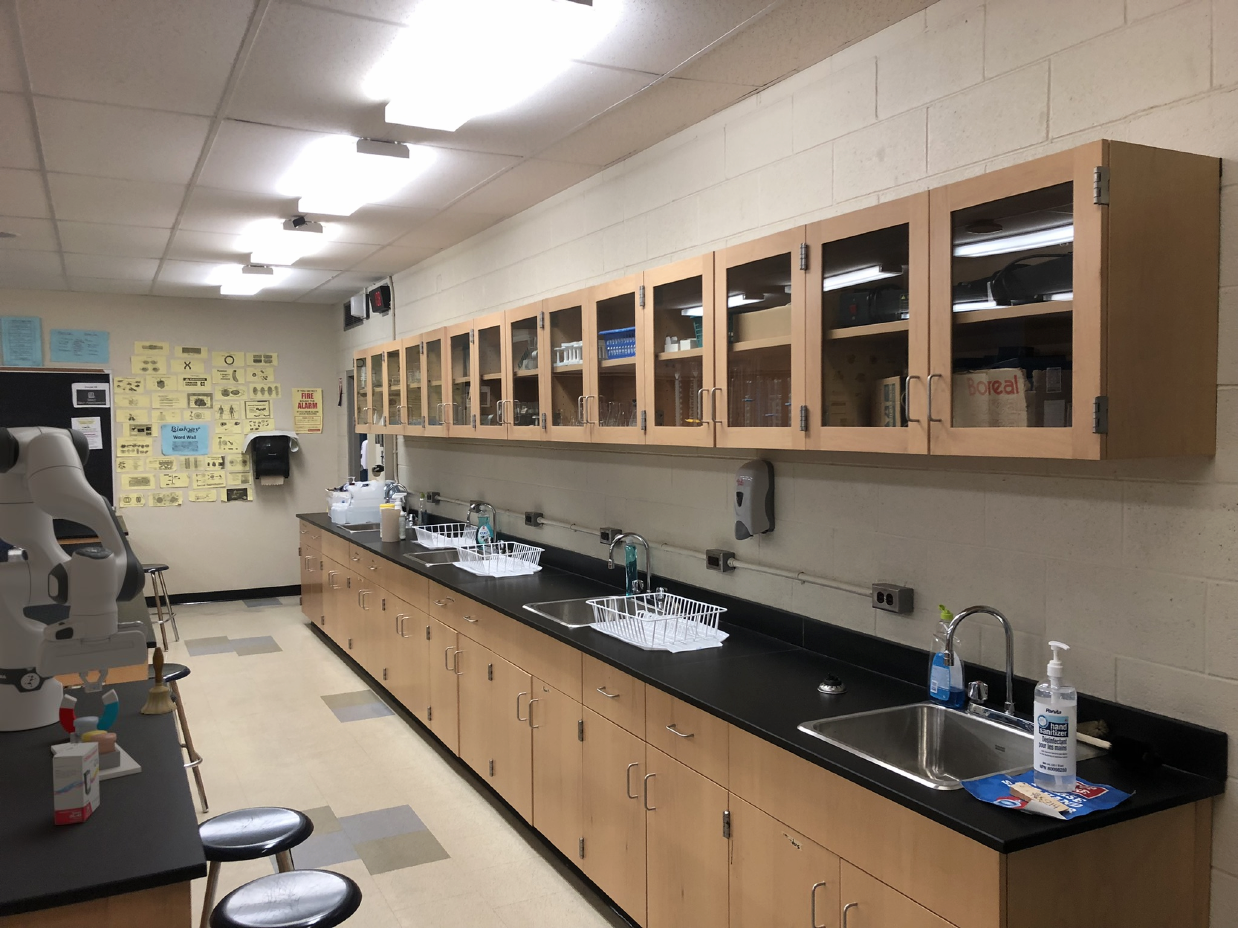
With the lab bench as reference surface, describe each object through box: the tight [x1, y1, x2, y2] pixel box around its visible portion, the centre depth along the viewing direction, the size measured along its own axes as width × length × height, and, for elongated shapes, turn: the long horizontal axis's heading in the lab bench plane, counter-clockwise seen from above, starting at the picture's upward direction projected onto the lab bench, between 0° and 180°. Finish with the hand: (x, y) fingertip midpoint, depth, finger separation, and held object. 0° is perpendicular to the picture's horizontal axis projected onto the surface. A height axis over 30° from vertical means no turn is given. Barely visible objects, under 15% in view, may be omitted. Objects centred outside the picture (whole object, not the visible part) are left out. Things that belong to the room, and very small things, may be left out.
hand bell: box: [140, 646, 178, 715], centre depth 228 cm, size 8×8×16 cm
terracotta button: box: [90, 732, 117, 755], centre depth 183 cm, size 5×5×4 cm
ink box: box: [52, 742, 101, 826], centre depth 160 cm, size 9×5×12 cm, turn 13°
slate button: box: [74, 716, 99, 737], centre depth 195 cm, size 5×5×4 cm
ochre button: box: [82, 730, 108, 743], centre depth 189 cm, size 5×5×4 cm
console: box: [50, 729, 142, 782], centre depth 189 cm, size 28×11×4 cm, turn 42°
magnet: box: [59, 688, 120, 735], centre depth 206 cm, size 12×3×10 cm, turn 118°
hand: (93, 691), depth 189 cm, fingers closed
